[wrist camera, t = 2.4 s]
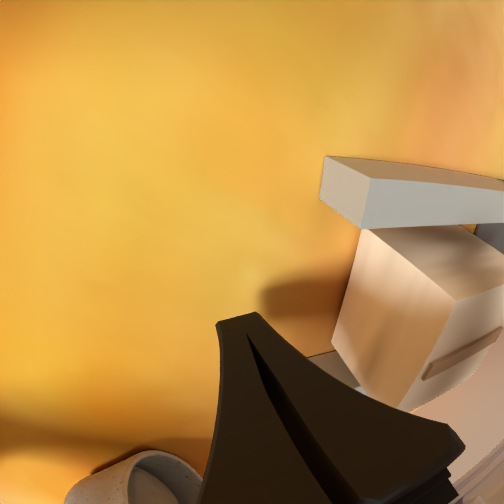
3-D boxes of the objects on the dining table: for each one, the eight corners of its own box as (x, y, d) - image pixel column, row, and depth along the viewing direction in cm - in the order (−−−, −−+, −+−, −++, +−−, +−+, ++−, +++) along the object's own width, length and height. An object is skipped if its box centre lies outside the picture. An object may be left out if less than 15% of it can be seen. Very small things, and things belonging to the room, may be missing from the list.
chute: (504, 180, 14) (546, 202, 11) (448, 329, 19) (476, 357, 16) (325, 156, 10) (387, 186, 7) (283, 381, 15) (308, 431, 13)
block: (453, 221, 13) (531, 275, 9) (417, 318, 16) (473, 377, 12) (362, 225, 12) (459, 304, 7) (330, 342, 14) (388, 425, 10)
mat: (533, 193, 16) (535, 194, 16) (490, 307, 21) (491, 308, 20) (488, 186, 13) (491, 187, 13) (434, 330, 18) (436, 332, 18)
